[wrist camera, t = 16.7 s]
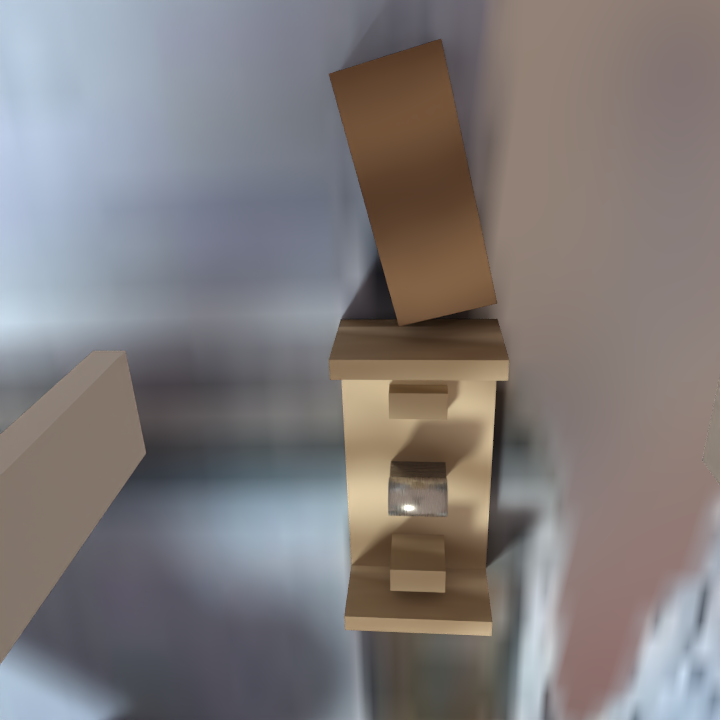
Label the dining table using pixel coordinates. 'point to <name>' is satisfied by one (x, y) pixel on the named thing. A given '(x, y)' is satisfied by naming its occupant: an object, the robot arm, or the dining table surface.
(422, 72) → the walnut bar
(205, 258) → the dining table surface
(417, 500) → the birch cradle
